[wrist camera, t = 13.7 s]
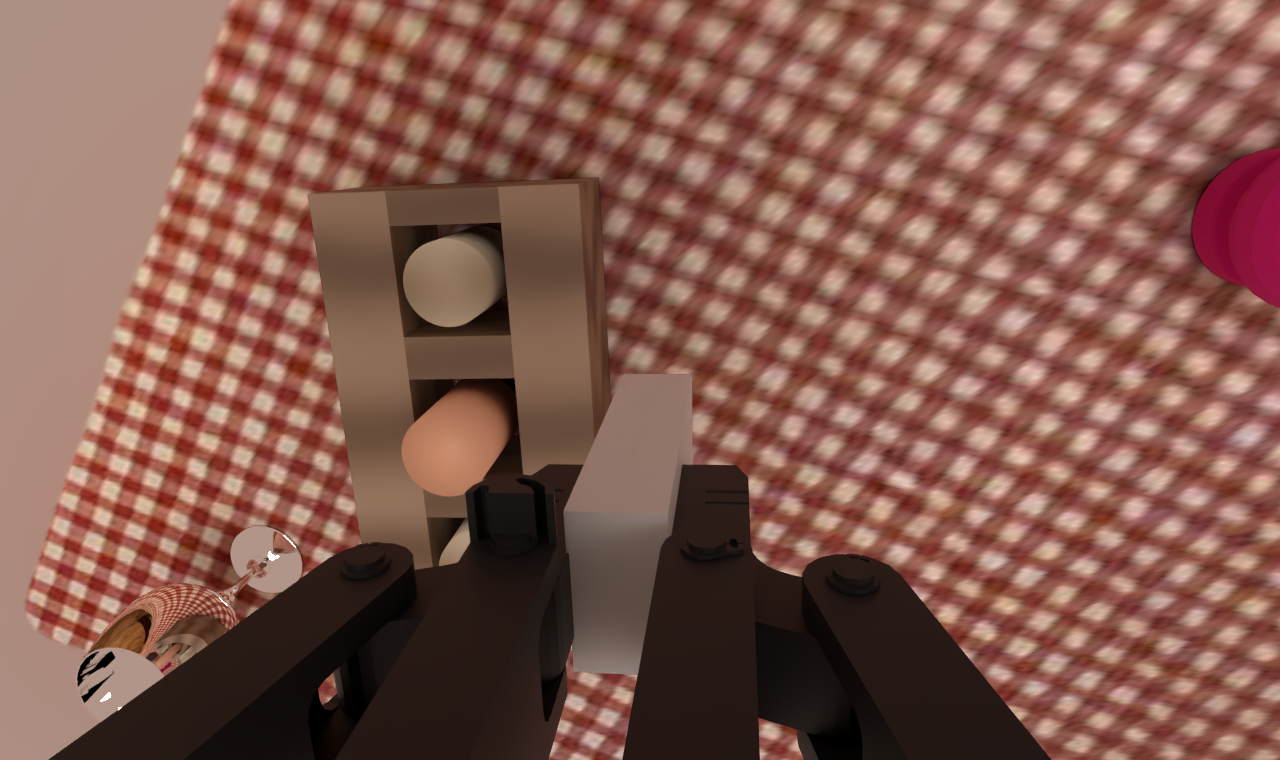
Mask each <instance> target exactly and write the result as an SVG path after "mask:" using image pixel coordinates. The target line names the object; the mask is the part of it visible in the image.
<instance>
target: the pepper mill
mask: <svg viewBox="0 0 1280 760" xmlns="http://www.w3.org/2000/svg"><path fill="white" fill-rule="evenodd" d="M1192 235H1193V240H1194V244H1195V249H1196V252H1197V254H1198V256H1199V257H1200V259H1201V261H1202V262H1203V264H1204V265H1205V266H1206V267H1207V268H1208V269H1209V270H1210V271H1211V272H1212V273H1213V274H1215V275H1216V276H1218V277H1219V278H1221V279H1224V280H1226V281H1228V282H1231V283H1235V284H1238V285H1242V286H1246V287H1247V288H1248V289H1249V290H1250V291H1251V292H1252V293H1253V294H1255V295H1256V296H1258V297H1259V298H1261V299H1262V300H1264V301H1266V302H1267V303H1269V304H1271V305H1274V306H1276V307H1278V308H1280V148H1274V149H1268V150H1262V151H1258V152H1255V153H1253V154H1250V155H1247V156H1244V157H1242V158H1240V159H1239V160H1237V161H1235V162H1233V163H1232V164H1230V165H1229V166H1228V167H1226V168H1225V169H1224V170H1223V171H1221V172H1220V173H1219V174H1218V175H1217V177H1216V178H1215V179H1214V180H1213V181H1212V182H1211V183H1210V184H1209V186H1208V187H1207V189H1206V190H1205V192H1204V193H1203V195H1202V196H1201V198H1200V200H1199V203H1198V205H1197V208H1196V210H1195V213H1194V220H1193V228H1192Z"/></svg>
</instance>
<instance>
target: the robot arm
mask: <svg viewBox="0 0 1280 760" xmlns="http://www.w3.org/2000/svg"><path fill="white" fill-rule="evenodd" d="M465 497H466V507H467V516H468V526H469V535H470V544H469V545H468V547H467V548H466V550H465V552H464V553H463V555H462V556H461V558H460V560H459V561H458V562H457V563H453V564H448V565H443V566H436V567H429V568H423V569H416V570H415V566H414V558H413V554H412V553H411V552H410V551H409V550H408V549H407V548H406V547H403V546H400V545H398V544H395V543H381V542H371V543H370V544H368V543H364V544H359V545H357V546H356V547H353V548H350V549H347V550H343V551H341V552H340V553H338V554H336V555H334V556H332V557H330V558H329V559H327V560H326V561H324V562H323V563H322V564H320V565H319V566H318V567H316V568H315V569H313V570H312V571H311V572H309V573H308V574H306V575H305V576H304V577H302V578H301V579H299V580H298V581H297V582H295V583H294V584H292V585H291V586H290V587H288V588H287V589H285V590H284V591H283V592H281V593H280V594H279V595H277V596H276V597H274V598H273V599H272V600H270V601H269V602H267V603H266V604H265V605H263V606H262V607H260V608H259V609H258V610H256V611H255V612H253V613H252V614H251V615H249V616H248V617H246V618H245V619H244V620H242V621H241V622H240V623H238V624H237V625H235V626H234V627H233V628H231V629H230V630H228V631H227V632H226V633H224V634H223V635H221V636H220V637H219V638H217V639H216V640H214V641H213V642H212V643H210V644H209V645H207V646H206V647H205V648H203V649H202V650H201V651H199V652H198V653H196V654H195V655H194V656H192V657H191V658H189V659H188V660H187V661H185V662H184V663H182V664H181V665H180V666H178V667H177V668H175V669H174V670H173V671H171V672H170V673H169V674H167V675H166V676H164V677H163V678H162V679H160V680H159V681H157V682H156V683H155V684H153V685H152V686H150V687H149V688H148V689H146V690H145V691H143V692H142V693H141V694H139V695H138V696H136V697H135V698H134V699H132V700H131V701H130V702H128V703H127V704H125V705H124V706H123V707H121V708H120V709H118V710H117V711H116V712H114V713H113V714H111V715H110V716H109V717H107V718H106V719H104V720H103V721H102V722H100V723H99V724H98V725H96V726H95V727H93V728H92V729H91V730H89V731H88V732H86V733H85V734H84V735H82V736H81V737H79V738H78V739H77V740H75V741H74V742H73V743H71V744H70V745H68V746H67V747H66V748H64V749H63V750H61V751H60V752H59V753H57V754H56V755H54V756H53V757H52V758H50V759H49V760H548V759H549V755H550V752H551V749H552V745H553V742H554V738H555V735H556V731H557V728H558V724H559V721H560V717H561V714H562V710H563V707H564V704H565V700H566V697H567V672H566V662H567V658H568V655H569V652H570V649H571V645H572V651H573V667H574V672H590V673H611V674H631V675H638V676H637V682H636V687H635V693H634V699H633V704H632V710H631V715H630V721H629V726H628V732H627V737H626V743H625V749H624V754H623V760H760V753H759V724H758V718H761V719H765V720H768V721H771V722H774V723H778V724H781V725H784V726H787V727H791V728H794V729H797V739H798V745H799V748H800V751H801V753H802V755H803V758H804V760H1051V759H1050V757H1049V756H1048V755H1047V754H1046V753H1045V751H1044V750H1043V749H1042V748H1041V746H1040V745H1039V744H1038V743H1037V742H1036V740H1035V739H1034V738H1033V737H1032V735H1031V734H1030V733H1029V732H1028V730H1027V729H1026V728H1025V727H1024V726H1023V724H1022V723H1021V722H1020V721H1019V719H1018V718H1017V717H1016V716H1015V715H1014V713H1013V712H1012V711H1011V710H1010V708H1009V707H1008V706H1007V705H1006V704H1005V702H1004V701H1003V700H1002V699H1001V697H1000V696H999V695H998V694H997V692H996V691H995V690H994V689H993V688H992V686H991V685H990V684H989V683H988V681H987V680H986V679H985V678H984V677H983V675H982V674H981V673H980V672H979V670H978V669H977V668H976V667H975V666H974V664H973V663H972V662H971V661H970V659H969V658H968V657H967V656H966V655H965V653H964V652H963V651H962V650H961V648H960V647H959V646H958V645H957V643H956V642H955V641H954V640H953V639H952V637H951V636H950V635H949V634H948V632H947V631H946V630H945V629H944V628H943V626H942V625H941V624H940V623H939V621H938V620H937V619H936V618H935V617H934V615H933V614H932V613H931V612H930V610H929V609H928V608H927V607H926V606H925V604H924V603H923V602H922V601H921V599H920V598H919V597H918V596H917V594H916V593H915V592H914V591H913V590H912V588H911V587H910V586H909V585H908V583H907V582H906V581H905V580H904V579H903V577H902V576H901V575H900V574H899V573H898V572H896V571H895V570H894V569H893V568H892V567H890V566H889V565H887V564H885V563H882V562H880V561H878V560H875V559H873V558H870V557H867V556H863V555H862V556H859V555H857V554H846V555H845V554H835V555H830V556H826V557H821V558H818V559H816V560H815V561H813V562H811V563H809V564H808V565H807V567H806V568H805V570H804V572H803V574H802V577H799V576H794V575H790V574H787V573H783V572H780V571H777V570H775V569H773V568H771V567H768V566H766V565H765V564H764V563H762V562H761V561H760V560H758V559H757V557H756V556H755V555H754V554H753V551H752V548H751V542H750V515H749V487H748V477H747V476H746V475H745V474H744V473H743V472H742V471H741V470H740V469H739V468H738V467H737V466H736V465H693V448H692V374H623V377H622V379H621V381H620V384H619V386H618V388H617V390H616V393H615V395H614V397H613V399H612V402H611V404H610V406H609V409H608V411H607V413H606V415H605V418H604V420H603V422H602V425H601V427H600V429H599V431H598V434H597V436H596V438H595V440H594V443H593V445H592V447H591V450H590V452H589V454H588V456H587V459H586V461H585V463H584V465H574V464H548V465H546V466H545V467H543V468H542V469H540V470H539V471H537V472H536V473H534V474H533V475H524V474H514V475H502V476H498V477H493V478H489V479H486V480H483V481H481V482H479V483H476V484H474V485H473V486H472V487H470V488H469V489H468V490H467V491H466V492H465ZM333 672H334V678H335V684H336V690H337V694H336V695H335V696H334V697H333V698H332V699H331V700H330V701H329V702H327V703H325V704H324V705H322V704H321V702H320V699H319V693H318V688H319V687H320V685H321V684H322V683H323V681H324V680H325V679H326V678H328V677H329V676H330V675H331V674H332V673H333Z"/></svg>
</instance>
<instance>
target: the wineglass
mask: <svg viewBox="0 0 1280 760" xmlns="http://www.w3.org/2000/svg"><path fill="white" fill-rule="evenodd" d="M230 557H231V562H232V565H233V568H234V570H235V572H236V573H237V575H238V576H239V577H240V578H241V579H239V580H238V581H237V582H236V583H235V584H233V585H232V586H231V587H229V588H227V589H225V590H222V591H220V592H218V593H216V592H215V591H213V590H211V589H209V588H206V587H203V586H200V585H195V584H187V583H182V584H172V585H167V586H163V587H160V588H158V589H155V590H153V591H151V592H149V593H147V594H145V595H143V596H142V597H140V598H138V599H137V600H135V601H134V602H133V603H131V604H130V605H129V606H128V607H127V608H125V609H124V610H123V611H122V612H121V613H120V614H119V615H118V616H117V617H116V618H115V619H114V620H113V621H112V622H111V623H110V624H109V625H108V626H107V628H106V629H105V630H104V631H103V632H102V633H101V635H100V636H99V637H98V638H97V640H96V641H95V642H94V644H93V645H92V647H91V648H90V649H89V651H88V652H87V653H86V655H85V656H84V658H83V659H82V660H81V662H80V664H79V666H78V668H77V672H76V678H75V681H76V689H77V692H78V695H79V697H80V699H81V701H82V703H83V704H84V706H85V707H86V709H87V710H88V711H89V712H90V713H91V714H92V715H93V716H94V717H95V718H96V719H98V720H99V721H100V722H102V721H103V720H104V719H106V718H107V717H109V716H110V715H111V714H113V713H114V712H116V711H117V710H118V709H120V708H121V707H123V706H124V705H125V704H127V703H128V702H130V701H131V700H132V699H134V698H135V697H136V696H138V695H139V694H141V693H142V692H143V691H145V690H146V689H148V688H149V687H150V686H152V685H153V684H155V683H156V682H157V681H159V680H160V679H162V678H163V677H164V676H166V675H167V674H169V673H170V672H171V671H173V670H174V669H175V668H177V667H178V666H180V665H181V664H182V663H184V662H185V661H187V660H188V659H189V658H191V657H192V656H194V655H195V654H196V653H198V652H199V651H201V650H202V649H203V648H205V647H206V646H207V645H209V644H210V643H212V642H213V641H214V640H216V639H217V638H219V637H220V636H221V635H223V634H224V633H226V632H227V631H228V630H230V629H231V628H233V627H234V626H235V625H237V624H238V623H239V620H238V618H237V615H236V613H235V611H234V609H233V608H232V606H231V604H232V602H233V601H234V598H235V596H236V595H237V594H238V592H239V591H240V590H241V589H242V588H243V587H244V586H245V585H246V584H247V585H249V586H250V587H252V588H254V589H256V590H258V591H261V592H266V593H280V592H283V591H284V590H285V589H287V588H288V587H290V586H291V585H292V584H294V583H295V582H297V581H298V580H299V579H300V577H301V574H302V570H303V560H302V556H301V553H300V551H299V549H298V547H297V546H296V544H295V543H294V542H293V541H292V540H291V538H289V537H288V536H287V535H286V534H284V533H283V532H281V531H279V530H277V529H275V528H272V527H268V526H252V527H249V528H246V529H244V530H243V531H241V532H240V533H239V534H238V535H237V536H236V537H235V539H234V540H233V543H232V545H231V550H230Z"/></svg>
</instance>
